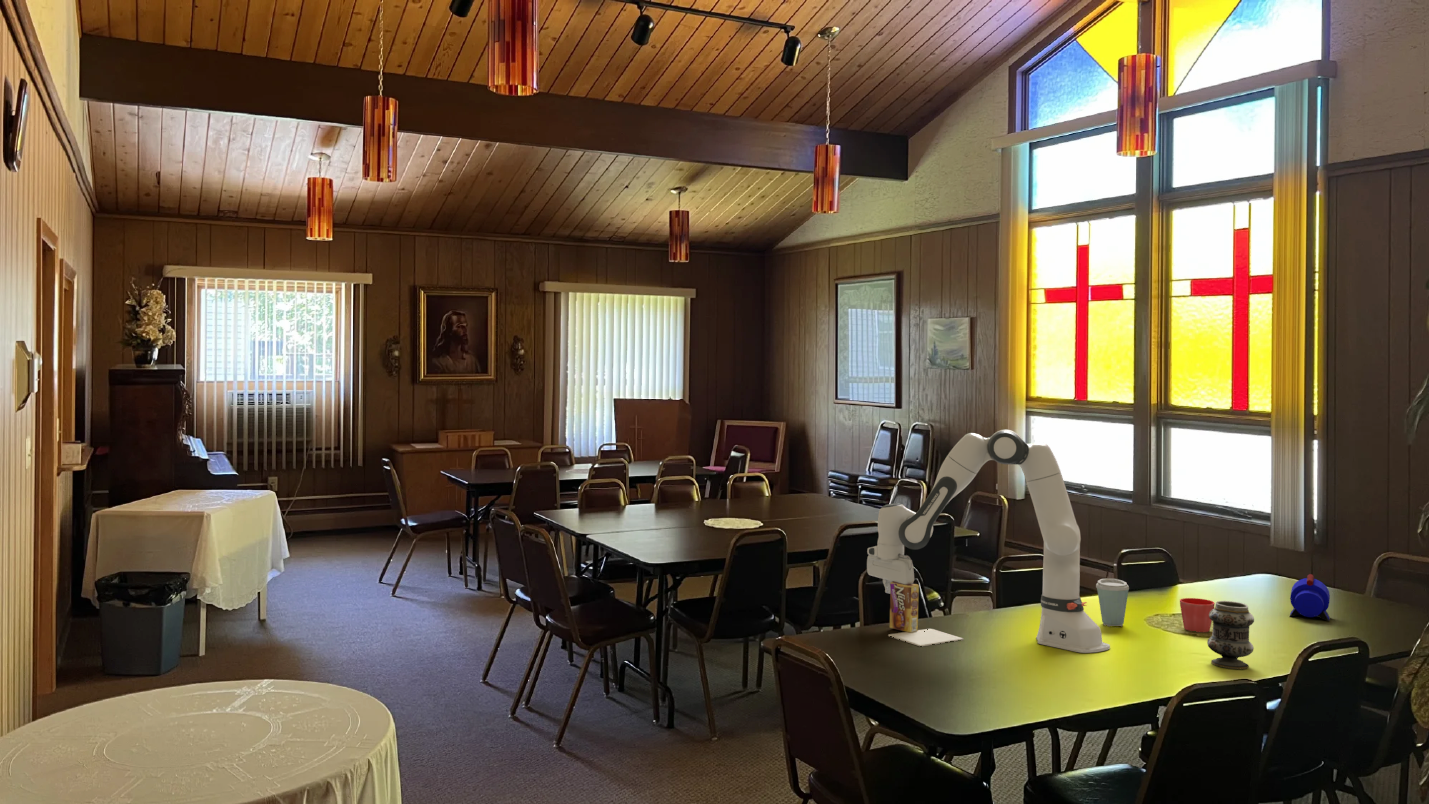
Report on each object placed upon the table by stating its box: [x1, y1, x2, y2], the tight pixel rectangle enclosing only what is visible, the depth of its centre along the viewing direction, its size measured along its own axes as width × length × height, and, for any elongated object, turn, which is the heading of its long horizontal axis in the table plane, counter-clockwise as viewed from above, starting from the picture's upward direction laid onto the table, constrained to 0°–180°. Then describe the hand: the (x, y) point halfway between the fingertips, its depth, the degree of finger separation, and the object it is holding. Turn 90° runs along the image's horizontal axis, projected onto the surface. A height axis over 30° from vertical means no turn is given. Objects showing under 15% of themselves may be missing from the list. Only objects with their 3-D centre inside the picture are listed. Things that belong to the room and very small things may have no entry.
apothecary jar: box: [1207, 600, 1255, 670], centre depth 295 cm, size 12×12×18 cm
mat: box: [887, 628, 964, 647], centre depth 322 cm, size 15×18×1 cm
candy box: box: [889, 581, 920, 632], centre depth 330 cm, size 9×4×15 cm, turn 39°
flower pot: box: [1179, 597, 1216, 633], centre depth 339 cm, size 11×11×10 cm
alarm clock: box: [1289, 573, 1331, 623], centre depth 361 cm, size 12×12×15 cm
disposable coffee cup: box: [1095, 578, 1130, 627], centre depth 344 cm, size 11×11×15 cm
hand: (889, 593), depth 337 cm, fingers closed
